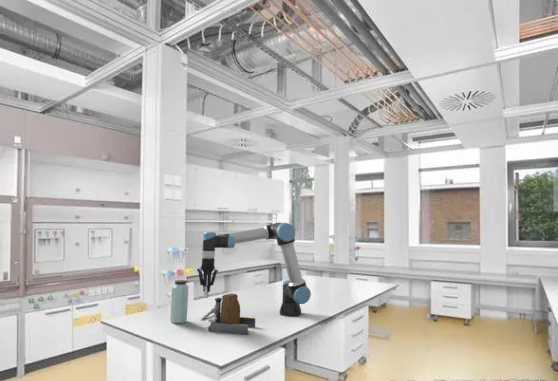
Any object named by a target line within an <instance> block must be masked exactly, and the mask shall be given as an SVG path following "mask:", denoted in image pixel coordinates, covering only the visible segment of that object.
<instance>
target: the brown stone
mask: <svg viewBox="0 0 558 381" xmlns="http://www.w3.org/2000/svg"><path fill="white" fill-rule="evenodd" d="M221 298H222V301H221V311H220V313H221V316H220V323H228V324H239V323H240V317H241V305H240V302H239V300H238V298H239V297H238V295H237V294H236V293H226V294H223V295H222V296H221Z"/></svg>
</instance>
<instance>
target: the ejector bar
mask: <svg viewBox="0 0 558 381" xmlns="http://www.w3.org/2000/svg"><path fill="white" fill-rule="evenodd" d="M214 301H215V305H216V309H215V314H214V318H210V319H208V323H211V322H217V323H220V316H221V303H222V297H215V298H214Z"/></svg>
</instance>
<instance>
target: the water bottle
mask: <svg viewBox="0 0 558 381" xmlns="http://www.w3.org/2000/svg"><path fill="white" fill-rule="evenodd" d="M188 302H189V285H188V284H187V280H186V279H176V280H175V281H174V285H173V286H172V287H171V302H170V304H171V305H170V323H172V324H175V325H176V324H180V325H181V324H184V323H186V321H187V319H188V306H189V303H188Z"/></svg>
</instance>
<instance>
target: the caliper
mask: <svg viewBox="0 0 558 381" xmlns="http://www.w3.org/2000/svg"><path fill="white" fill-rule="evenodd" d="M215 309H216V304H215V305H214V307H213V308H211V309H210V310H209V311H208V312H206V314H204V316H202V317H201V319H200V321H205V319H207V317H209V316H210V315H212V314H214V315H215Z"/></svg>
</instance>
